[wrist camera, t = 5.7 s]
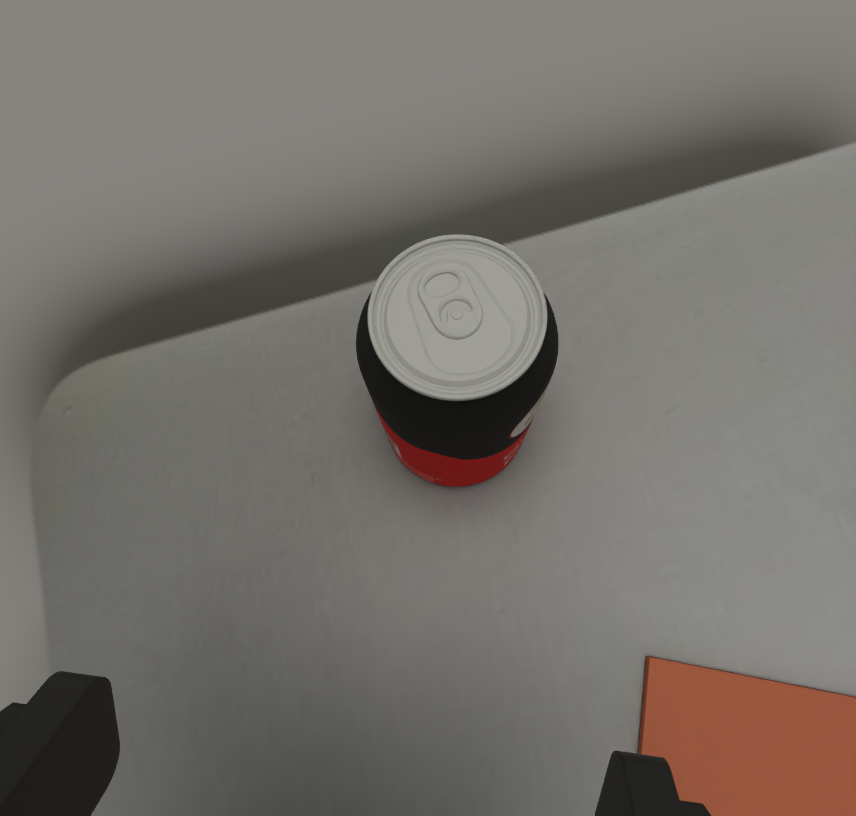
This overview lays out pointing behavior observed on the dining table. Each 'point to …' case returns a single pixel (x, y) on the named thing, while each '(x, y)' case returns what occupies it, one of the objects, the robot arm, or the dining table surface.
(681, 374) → the dining table surface
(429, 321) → the beverage can
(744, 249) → the dining table surface
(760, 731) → the terracotta pad
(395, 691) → the dining table surface
